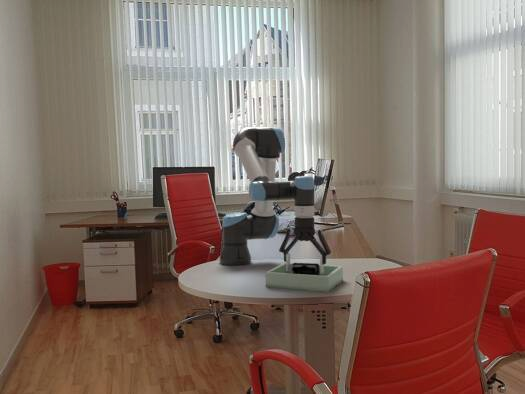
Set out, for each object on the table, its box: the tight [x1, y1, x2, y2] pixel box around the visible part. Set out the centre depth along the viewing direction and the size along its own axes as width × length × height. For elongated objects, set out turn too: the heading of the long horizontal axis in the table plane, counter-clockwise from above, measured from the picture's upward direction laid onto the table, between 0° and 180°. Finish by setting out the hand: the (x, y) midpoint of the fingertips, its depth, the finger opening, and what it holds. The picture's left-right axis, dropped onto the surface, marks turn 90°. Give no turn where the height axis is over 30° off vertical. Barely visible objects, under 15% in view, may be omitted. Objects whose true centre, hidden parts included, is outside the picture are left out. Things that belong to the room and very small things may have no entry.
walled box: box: [265, 262, 344, 293], centre depth 195 cm, size 24×20×6 cm
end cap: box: [292, 262, 320, 275], centre depth 195 cm, size 10×7×7 cm
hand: (304, 271), depth 195 cm, fingers open, 13 cm apart
